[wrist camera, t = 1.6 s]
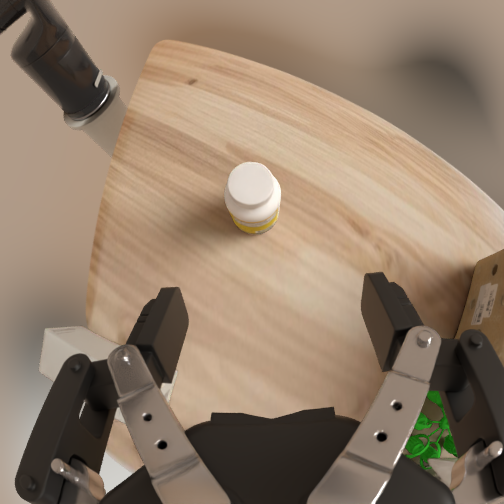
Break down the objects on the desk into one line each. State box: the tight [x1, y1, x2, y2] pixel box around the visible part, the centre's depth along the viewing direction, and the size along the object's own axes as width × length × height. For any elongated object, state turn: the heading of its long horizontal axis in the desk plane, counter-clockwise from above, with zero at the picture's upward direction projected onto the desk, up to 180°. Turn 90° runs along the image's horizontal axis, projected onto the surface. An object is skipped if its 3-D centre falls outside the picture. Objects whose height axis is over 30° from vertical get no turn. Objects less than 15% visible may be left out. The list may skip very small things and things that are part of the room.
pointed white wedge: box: [427, 458, 458, 487], centre depth 24 cm, size 10×8×22 cm
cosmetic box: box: [39, 326, 178, 424], centre depth 28 cm, size 8×6×15 cm
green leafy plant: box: [405, 391, 457, 469], centre depth 26 cm, size 15×15×7 cm
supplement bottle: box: [224, 162, 281, 235], centre depth 29 cm, size 5×5×10 cm
